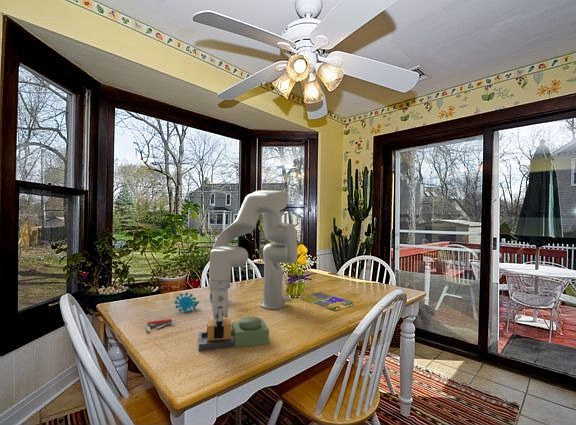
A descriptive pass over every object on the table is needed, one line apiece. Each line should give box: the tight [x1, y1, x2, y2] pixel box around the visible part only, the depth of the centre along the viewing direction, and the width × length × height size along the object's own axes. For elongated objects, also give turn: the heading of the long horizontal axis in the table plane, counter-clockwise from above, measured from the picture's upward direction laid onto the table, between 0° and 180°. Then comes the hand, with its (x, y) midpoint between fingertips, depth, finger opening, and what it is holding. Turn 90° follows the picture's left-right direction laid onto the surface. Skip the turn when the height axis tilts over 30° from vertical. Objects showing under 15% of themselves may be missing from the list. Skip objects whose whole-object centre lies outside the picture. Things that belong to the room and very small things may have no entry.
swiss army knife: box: [146, 316, 177, 332], centre depth 117 cm, size 12×14×2 cm
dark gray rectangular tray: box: [197, 330, 236, 352], centre depth 103 cm, size 12×10×2 cm
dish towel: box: [301, 291, 354, 311], centre depth 155 cm, size 18×24×3 cm
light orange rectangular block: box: [206, 317, 232, 341], centre depth 103 cm, size 8×6×5 cm
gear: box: [174, 292, 200, 314], centre depth 136 cm, size 11×6×10 cm
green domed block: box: [231, 316, 270, 348], centre depth 107 cm, size 12×10×7 cm
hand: (218, 333), depth 103 cm, fingers closed on light orange rectangular block, 6 cm apart
